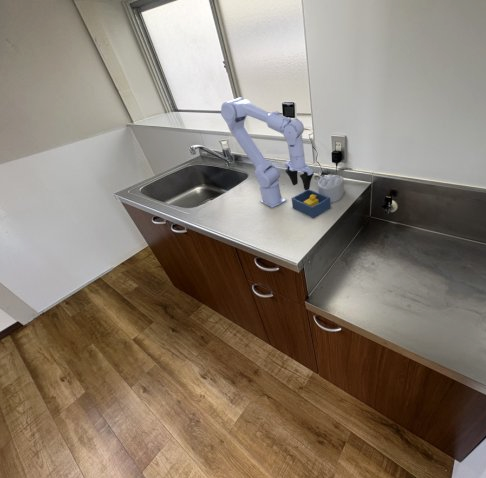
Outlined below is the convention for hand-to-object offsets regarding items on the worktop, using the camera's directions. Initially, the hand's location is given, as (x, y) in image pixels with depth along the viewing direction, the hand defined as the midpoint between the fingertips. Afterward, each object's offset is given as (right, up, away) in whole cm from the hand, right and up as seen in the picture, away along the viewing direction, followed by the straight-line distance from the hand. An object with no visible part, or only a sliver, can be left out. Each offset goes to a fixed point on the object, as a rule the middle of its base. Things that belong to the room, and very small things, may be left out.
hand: (301, 186), depth 104 cm
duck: (+4, -8, +3) cm, 10 cm away
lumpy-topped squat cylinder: (+13, -2, +10) cm, 17 cm away
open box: (+4, -8, +4) cm, 10 cm away
